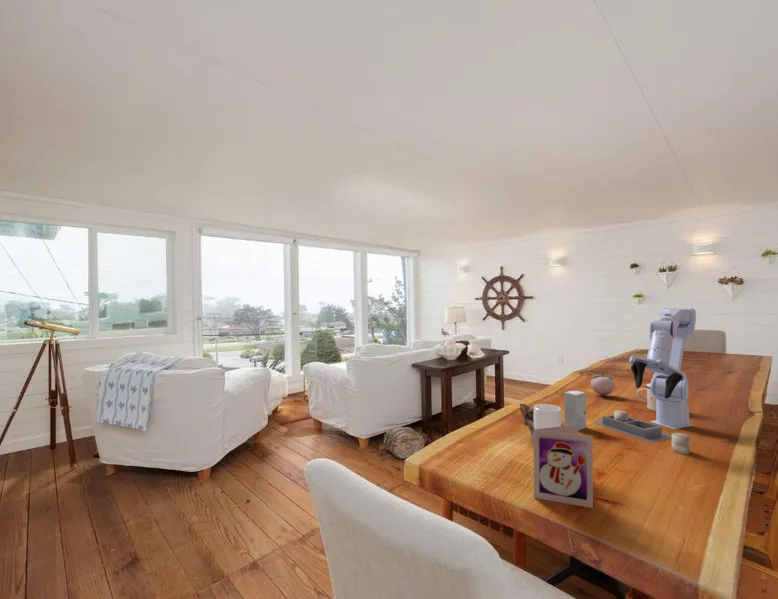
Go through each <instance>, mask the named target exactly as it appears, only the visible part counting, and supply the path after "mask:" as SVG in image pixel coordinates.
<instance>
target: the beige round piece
mask: <svg viewBox="0 0 778 599" xmlns="http://www.w3.org/2000/svg"><path fill="white" fill-rule="evenodd" d="M613 415H614V419H615V420H618V421H621V422H627V421H628V417H629V413H628V412H626V411H624V410H613Z"/></svg>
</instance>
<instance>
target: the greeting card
mask: <svg viewBox="0 0 778 599" xmlns="http://www.w3.org/2000/svg"><path fill="white" fill-rule="evenodd" d="M593 442H594V441H593V435H588V434H587V435H586V434H579V430H578V425H570V426H565V425H563V426H561V427H551V428H542V429H534V442H533V499H538V500H545V501H550V502H556V503H562V504H567V505H572V506H579V507H584V508H585V507H586V508H591V509H593V508H594V487H593V486H594V479H593V478H594V474H593V473H594V461H593V460H594V458H593V457H594V455H593V453H594V452H593V450H594V448H593V447H594V446H593V445H594V443H593Z"/></svg>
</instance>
